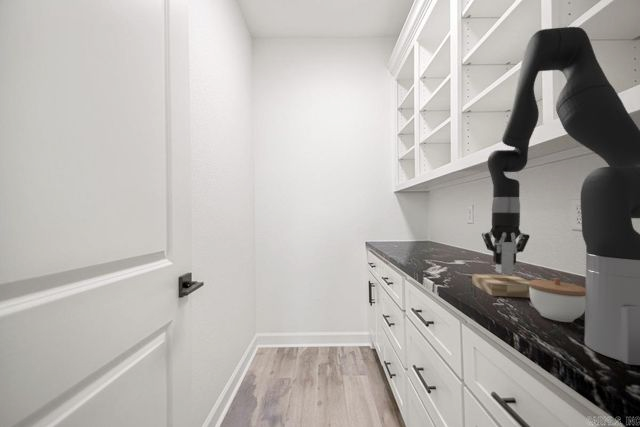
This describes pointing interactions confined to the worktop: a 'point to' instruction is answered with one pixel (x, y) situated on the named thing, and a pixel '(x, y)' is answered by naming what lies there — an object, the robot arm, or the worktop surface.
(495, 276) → the well block
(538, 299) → the lidded jar
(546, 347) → the worktop surface
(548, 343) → the worktop surface
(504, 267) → the grey rectangular block
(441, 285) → the worktop surface
